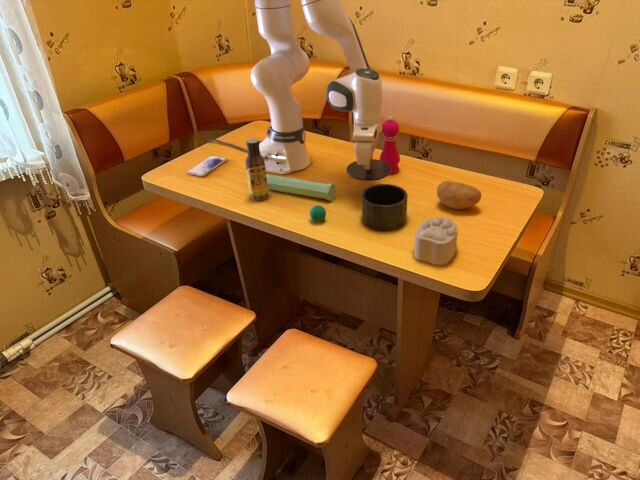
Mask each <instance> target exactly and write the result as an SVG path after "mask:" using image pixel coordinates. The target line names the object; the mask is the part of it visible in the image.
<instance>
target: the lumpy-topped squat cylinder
mask: <svg viewBox="0 0 640 480" xmlns="http://www.w3.org/2000/svg"><path fill="white" fill-rule="evenodd" d="M458 235H459V229H458V226H457V224H456V223H455V222H454V221H453V220H452V219H450V218H448V217H442V216H441V217H433V218H429V219H427V220H423V221H422V222H421V223H420V225H419V226H418V228H417V230H416V232H415V240H414V257H415V259H416V260H418V261H420V262H425V263H428V264H432V265H435V266H445V265H447V264H448V263H449V262H450V261H451V260H452V259H453V258H454V256H455V254H456V250H457V242H458Z"/></svg>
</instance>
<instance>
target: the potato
mask: <svg viewBox="0 0 640 480" xmlns="http://www.w3.org/2000/svg"><path fill="white" fill-rule="evenodd" d="M436 187H437V188H436V195H437V197H438V199H439V201H440V202H441V203H442V204H444V205H445V206H447V207H449V208H451V209H453V210H465V209H470V208H472V207H474V206H475V205H477V204H478V203H480V201H481V199H482V191H481V190H479V188H477V187H476V186H473V185H469V184H466V183H462V182H456V181H451V180H444V181H442V182H440V183H439V184H438V186H436Z"/></svg>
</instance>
